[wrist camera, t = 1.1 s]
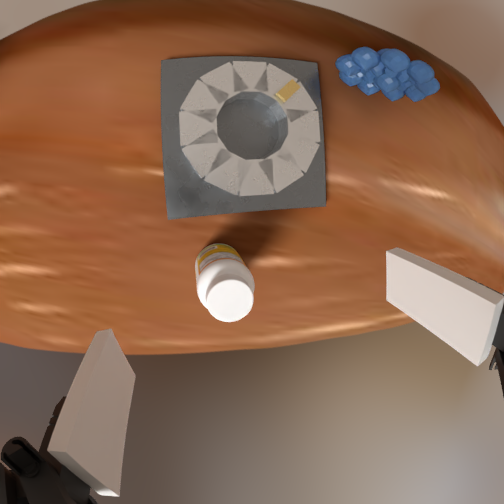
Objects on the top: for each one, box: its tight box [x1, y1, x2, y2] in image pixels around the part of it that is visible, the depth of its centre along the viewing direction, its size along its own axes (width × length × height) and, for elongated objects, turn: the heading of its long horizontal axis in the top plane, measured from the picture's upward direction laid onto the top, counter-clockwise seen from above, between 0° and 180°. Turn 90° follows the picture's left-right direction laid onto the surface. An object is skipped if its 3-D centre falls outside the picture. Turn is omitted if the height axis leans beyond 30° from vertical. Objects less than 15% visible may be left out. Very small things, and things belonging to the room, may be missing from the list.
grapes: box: [335, 47, 440, 102], centre depth 23 cm, size 12×7×12 cm, turn 79°
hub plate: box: [161, 56, 326, 220], centre depth 26 cm, size 18×18×5 cm
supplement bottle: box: [195, 244, 254, 322], centre depth 27 cm, size 5×5×10 cm
